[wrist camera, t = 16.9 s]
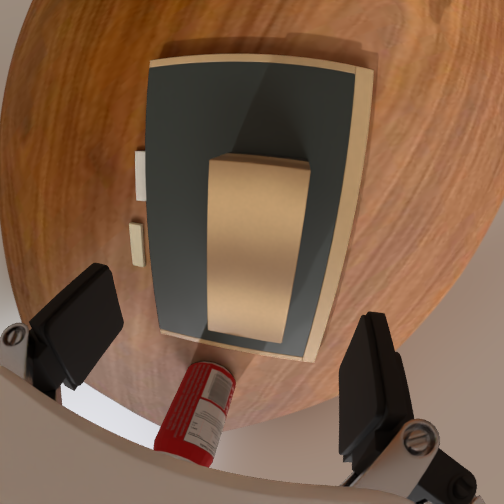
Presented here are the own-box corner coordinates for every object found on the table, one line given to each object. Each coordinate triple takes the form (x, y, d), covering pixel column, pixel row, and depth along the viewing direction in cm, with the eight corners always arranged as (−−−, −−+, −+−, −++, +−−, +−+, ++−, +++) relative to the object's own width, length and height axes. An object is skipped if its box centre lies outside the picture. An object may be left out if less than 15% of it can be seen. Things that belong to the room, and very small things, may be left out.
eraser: (231, 151, 17) (208, 159, 13) (309, 159, 17) (310, 169, 13) (224, 293, 22) (207, 330, 18) (287, 304, 21) (281, 344, 17)
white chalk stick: (137, 150, 19) (134, 151, 19) (150, 150, 19) (147, 151, 19) (138, 199, 21) (136, 200, 21) (150, 200, 21) (148, 201, 21)
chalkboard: (156, 62, 16) (149, 60, 15) (370, 72, 14) (374, 69, 13) (164, 327, 27) (160, 333, 26) (314, 355, 25) (314, 363, 24)
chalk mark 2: (140, 225, 22) (142, 223, 22) (128, 223, 22) (131, 221, 22) (143, 267, 23) (145, 265, 24) (132, 265, 23) (134, 263, 24)
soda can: (184, 377, 30) (145, 461, 19) (195, 351, 27) (149, 448, 17) (227, 395, 30) (199, 482, 19) (243, 372, 27) (214, 473, 17)
